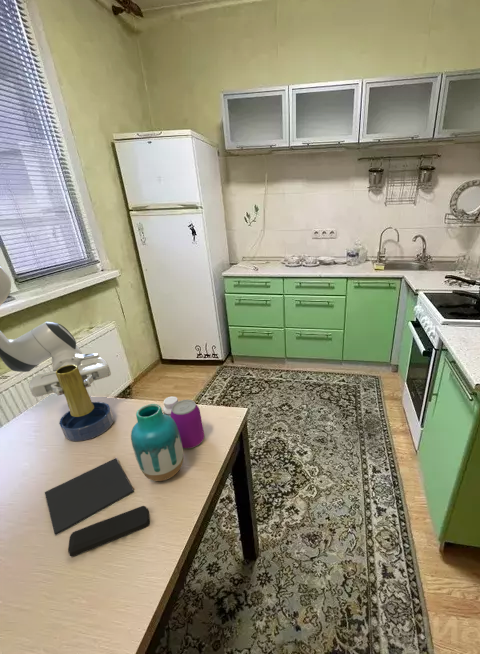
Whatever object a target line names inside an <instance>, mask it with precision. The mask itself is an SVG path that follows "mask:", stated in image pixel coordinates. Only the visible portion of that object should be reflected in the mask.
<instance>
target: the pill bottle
mask: <svg viewBox="0 0 480 654" xmlns="http://www.w3.org/2000/svg"><path fill="white" fill-rule="evenodd" d="M177 402H179V398H178V397H177V396H167V397H165V398H164V400H163V406H164V407H162V412H163V414H165V415H168V416H170V415H171V411H172V406H173V405H174V404H175V403H177ZM170 417H171V416H170Z"/></svg>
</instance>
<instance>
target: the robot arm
mask: <svg viewBox="0 0 480 654" xmlns="http://www.w3.org/2000/svg"><path fill="white" fill-rule="evenodd" d="M11 290H12V281H11V276H9V274H8V273H7V272H6V271H5V269H4V268H3V267H2V266H1V265H0V307H1V306H2V305H3V304H4V303H5V301H6V300H7V299H8V297H9V295H10V294H11V293H10V292H11ZM50 358H51V363H52V371H49V372H44V373H40V374H37V375H35V376H33V377H32V378H31V379H30V380H29V385H28V388H29V391H30V393H31V395H32V396H33V397H36V398H38V397H39V398H40V397H42V396H46V395H49V394H53V393H55V394H57V396H62V395H64V392H63V389H62V388H61V385H60V383H59V380H58V378H57V376H56V370H57V369H59V368H60V367H63V366H66V365H77V366H78V369H79V372H80V375H81V377H82V380H83V382H84V385H85V388H86V389H87V388H90V387H92V383H93V382H95V381H98V380H102V379H106V378H108V377H111V375H112V372H111V369H110V366H109V364H108V362H107V361H106V360H105V359H104V358H103V357H100V355H99V353H98V352H93V353H83V351H82V350H81V349H80V348H79V346H77V340H76V339H75V337H74V335H72V333H71V332H70V331H69V330H68V329H67V328H66V327H65V326H63V325H62V324H61V323H57V322H53V321H45V322H43V323H41V324H39V325H37V326H35V327H34V328H32V329H31V330H28V331H27V332H25V333H24V334H22V335H20V336H18V337H16V338H14V339H13V338H12V339H9V338H8V337H7V336H6V335H5V333H3V331H2V330H1V329H0V359H1V361H2V362H3V364H4V365H5V366H6V367H7V368H9V369H10V370H11V371H13V372H20V373H29V372H31V371H32V370H33V369H35V368H37V367H38V366H39V365H40V364H42V363H43V362H45V361H46V360H48V359H50Z"/></svg>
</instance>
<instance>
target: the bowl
mask: <svg viewBox="0 0 480 654" xmlns="http://www.w3.org/2000/svg"><path fill="white" fill-rule="evenodd" d="M92 403H93V405H94V409H93V410H92V411H91V412H90V413H89V414H87V415H84V416H80V417H74V416H71V414H70V410H68V411H67V412H65V413H64V414H63V415H62V416H61V418H60V420H59V423H58V424H59V426H60V429H61V431H62V433H63V435H64V437H65V439H66V440H69V441H72V442H83V441H86V440H90V439H93V438H95V437H98V436H100V435H101V434H103V433H105V432H107V430H109V429H110V428H111V426H112V425H113V423H114V421H115V418H114V415H113V412H112V408H111V406H110V405H109V403H106V402H105V401H104V402H103V401H92Z"/></svg>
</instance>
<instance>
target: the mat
mask: <svg viewBox="0 0 480 654" xmlns="http://www.w3.org/2000/svg"><path fill="white" fill-rule="evenodd" d="M133 493H135V490H134V488H133V486H132V485H131V483H130V481H129V479H128V477H127V475H126V474H125V472H124V470H123V468H122V466H121V464H120V462H119V460H118V459H117V457H115V458H113V459H111V460H108V461H107V462H104V463H103V464H100V465H98V466H96V467H94V468H92V469H90V470H87V471H86V472H83V473H81V474H80V475H78V476H75V477H73V478H71V479H69V480H67V481H65V482H62V483H61V484H58V485H56V486H55V487H52V488H50V489H48V490H46V491H44V495H45V499H46V504H47V507H48V512H49V516H50V520H51V525H52V528H53V533H54V535H55V536H57V535H60V534H61V533H63V532H65V531H66V530H68V529H70V528H72V527H74V526H75V525H77V524H79V523H81V522H83V521H84V520H86V519H88V518H90V517H91V516H93V515H95V514H98V513H99V512H101V511H102V510H104V509H106V508H107V507H110V506H112V505H114V504H115V503H117V502H119V501H120V500H122V499H124V498H126V497H128V496H129V495H132V494H133Z"/></svg>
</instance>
